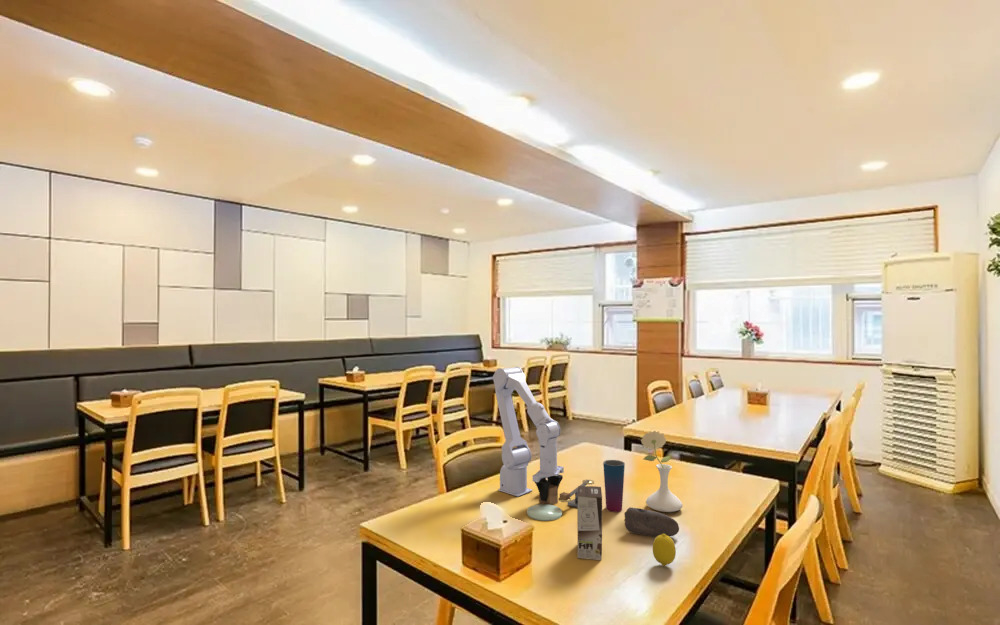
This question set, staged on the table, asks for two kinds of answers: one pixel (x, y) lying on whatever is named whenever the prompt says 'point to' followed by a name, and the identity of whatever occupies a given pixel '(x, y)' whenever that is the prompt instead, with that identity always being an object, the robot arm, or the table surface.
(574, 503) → the balance
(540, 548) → the table surface
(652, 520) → the perforated stone tool
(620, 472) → the cup
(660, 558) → the lemon
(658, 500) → the flower in vase
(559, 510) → the dish
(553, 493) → the walnut block
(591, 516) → the coffee box
